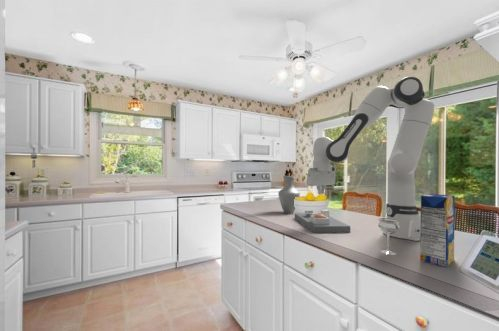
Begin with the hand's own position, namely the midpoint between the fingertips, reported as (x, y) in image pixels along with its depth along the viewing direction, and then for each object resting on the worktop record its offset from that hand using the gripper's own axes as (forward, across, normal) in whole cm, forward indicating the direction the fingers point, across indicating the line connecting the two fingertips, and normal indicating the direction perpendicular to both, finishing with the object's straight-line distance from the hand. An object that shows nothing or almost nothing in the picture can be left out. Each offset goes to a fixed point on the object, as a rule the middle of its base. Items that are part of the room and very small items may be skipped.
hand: (321, 194), depth 126 cm
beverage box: (+17, -6, -52) cm, 55 cm away
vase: (+17, +13, +36) cm, 42 cm away
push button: (+12, -5, -3) cm, 14 cm away
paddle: (+13, +6, +2) cm, 15 cm away
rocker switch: (+11, +3, +10) cm, 16 cm away
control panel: (+17, +2, +3) cm, 17 cm away
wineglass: (+17, -12, -39) cm, 44 cm away
